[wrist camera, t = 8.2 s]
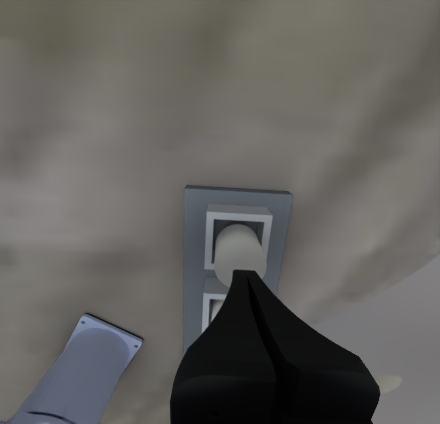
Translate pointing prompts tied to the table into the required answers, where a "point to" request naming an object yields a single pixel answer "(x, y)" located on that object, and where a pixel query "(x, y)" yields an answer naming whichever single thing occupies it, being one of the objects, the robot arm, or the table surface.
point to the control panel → (206, 242)
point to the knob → (238, 253)
